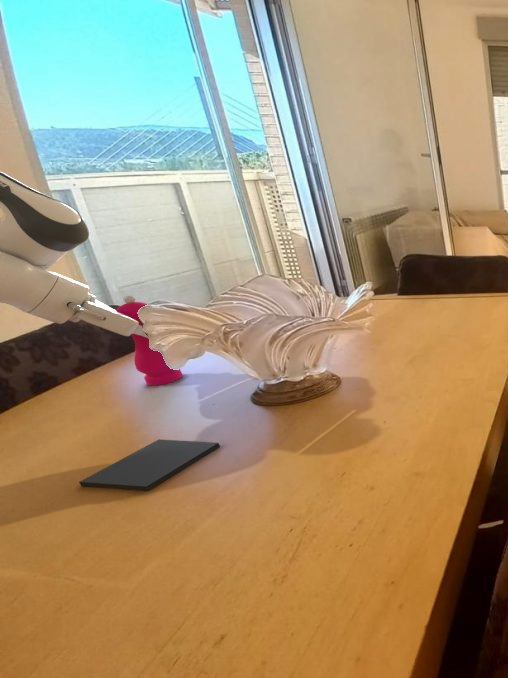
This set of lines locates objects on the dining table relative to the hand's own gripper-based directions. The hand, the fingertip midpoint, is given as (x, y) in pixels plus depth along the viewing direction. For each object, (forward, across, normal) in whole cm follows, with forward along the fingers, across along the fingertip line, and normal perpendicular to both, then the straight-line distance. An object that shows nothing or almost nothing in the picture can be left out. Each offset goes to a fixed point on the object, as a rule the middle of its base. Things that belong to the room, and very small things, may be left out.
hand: (148, 332), depth 105 cm
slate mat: (-1, -43, +17) cm, 46 cm away
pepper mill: (+8, 0, +9) cm, 12 cm away
